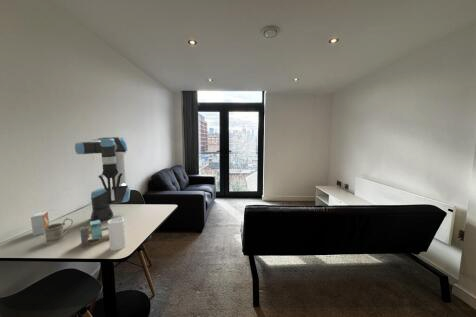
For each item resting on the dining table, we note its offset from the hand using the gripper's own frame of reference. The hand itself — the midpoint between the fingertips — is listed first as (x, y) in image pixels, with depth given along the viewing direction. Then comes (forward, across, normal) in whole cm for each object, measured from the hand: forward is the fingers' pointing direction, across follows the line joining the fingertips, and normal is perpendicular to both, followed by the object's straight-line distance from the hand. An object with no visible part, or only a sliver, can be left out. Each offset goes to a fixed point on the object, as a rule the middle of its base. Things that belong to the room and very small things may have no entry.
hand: (112, 199), depth 130 cm
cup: (+24, -2, -17) cm, 29 cm away
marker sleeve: (+21, -10, 0) cm, 23 cm away
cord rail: (+24, -8, 0) cm, 25 cm away
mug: (+24, -28, +18) cm, 41 cm away
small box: (+24, -38, +40) cm, 61 cm away
